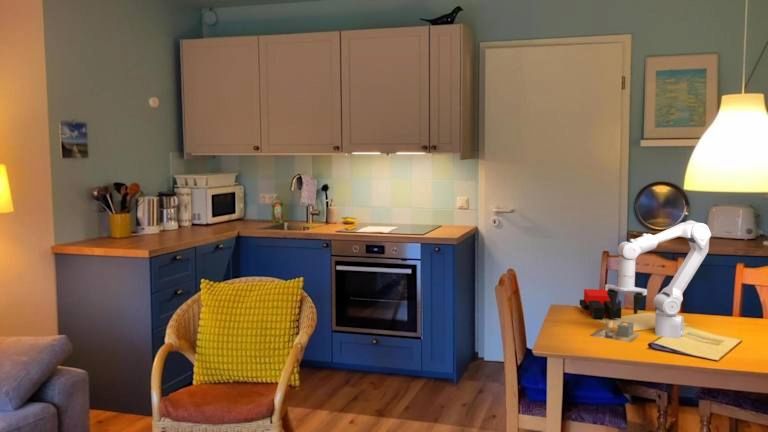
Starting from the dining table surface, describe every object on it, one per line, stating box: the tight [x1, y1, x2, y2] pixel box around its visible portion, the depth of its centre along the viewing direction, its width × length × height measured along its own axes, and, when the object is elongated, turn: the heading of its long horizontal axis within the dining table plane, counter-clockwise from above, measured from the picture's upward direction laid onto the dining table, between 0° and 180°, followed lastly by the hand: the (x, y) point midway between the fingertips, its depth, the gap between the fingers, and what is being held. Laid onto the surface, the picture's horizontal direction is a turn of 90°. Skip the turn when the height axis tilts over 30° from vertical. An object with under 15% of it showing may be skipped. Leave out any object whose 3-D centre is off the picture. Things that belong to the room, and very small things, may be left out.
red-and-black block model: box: [579, 288, 622, 319], centre depth 292 cm, size 15×8×25 cm
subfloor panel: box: [589, 328, 641, 343], centre depth 259 cm, size 15×12×1 cm
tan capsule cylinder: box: [604, 319, 614, 339], centre depth 255 cm, size 3×3×6 cm
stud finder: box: [616, 321, 634, 338], centre depth 259 cm, size 4×6×4 cm, turn 145°
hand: (624, 311), depth 258 cm, fingers open, 7 cm apart
